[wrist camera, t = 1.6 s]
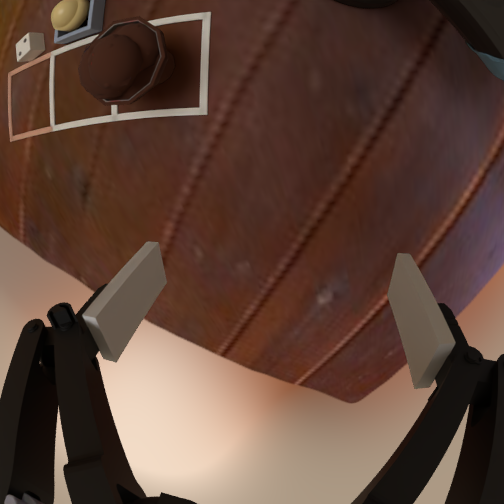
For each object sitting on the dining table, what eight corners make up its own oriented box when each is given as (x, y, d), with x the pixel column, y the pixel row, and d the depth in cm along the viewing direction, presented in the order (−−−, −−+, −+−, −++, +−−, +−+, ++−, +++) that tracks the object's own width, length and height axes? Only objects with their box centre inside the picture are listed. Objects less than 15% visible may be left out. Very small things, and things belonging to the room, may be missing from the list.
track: (9, 72, 33) (8, 73, 32) (211, 12, 28) (210, 11, 28) (11, 141, 40) (10, 141, 39) (207, 114, 35) (206, 114, 35)
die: (30, 44, 30) (15, 44, 26) (43, 33, 29) (28, 32, 25) (32, 61, 32) (17, 61, 28) (45, 50, 31) (29, 49, 27)
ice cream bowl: (184, 20, 29) (128, -12, 16) (200, 91, 34) (146, 87, 21) (119, 47, 31) (48, 37, 18) (132, 113, 36) (63, 126, 23)
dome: (66, 6, 25) (45, 2, 21) (94, -6, 25) (73, -13, 20) (62, 36, 28) (40, 34, 24) (89, 25, 27) (68, 21, 23)
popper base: (70, 5, 27) (59, 2, 24) (106, -10, 26) (96, -15, 23) (65, 44, 30) (53, 43, 28) (102, 31, 30) (90, 28, 27)
